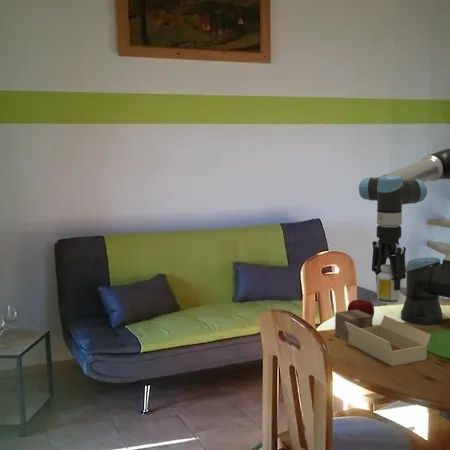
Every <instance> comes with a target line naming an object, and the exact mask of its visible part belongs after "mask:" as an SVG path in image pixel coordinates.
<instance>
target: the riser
mask: <svg viewBox="0 0 450 450" xmlns="http://www.w3.org/2000/svg"><path fill="white" fill-rule="evenodd" d="M334 313H335V315H334V317H335V321H334V323H335V324H334V335H335V336H337V337H339V338H340V339H342V340H345V341H346V342H348V335H349V331H348V329H347V327H346V324H345V321H346V322H348V323H350V324H352V325H354V326H356V327H358V328H367V327H373V324H374V323H373V319H374V316H371V315H369V314H367V313H364V312H362V311H359V310H350V311H347V310H344V311H337V312H334Z"/></svg>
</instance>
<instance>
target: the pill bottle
mask: <svg viewBox="0 0 450 450" xmlns="http://www.w3.org/2000/svg"><path fill="white" fill-rule="evenodd" d="M380 269H381V273H379V274H378V279H377V283H378V284H376V296H377V297H376V299H377V301H378V302H379V303H382V304H390V305H391V304H396V303H398V301H399V300H391V279H393V276H392V271H391V265H390V263H386V264H384V265H381V268H380ZM396 276H397V275H396Z"/></svg>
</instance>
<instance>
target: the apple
mask: <svg viewBox="0 0 450 450" xmlns="http://www.w3.org/2000/svg"><path fill="white" fill-rule="evenodd" d="M350 310H359V311H362V312H364V313H367V314H369V315H371V316H373V317H374V315H375V306H374V304H373V303H372V302H370V301H369V300H365V299H354V300H352V301H350V302H349V303H348V305H347V310H346V311H350Z"/></svg>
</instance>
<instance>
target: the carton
mask: <svg viewBox="0 0 450 450" xmlns="http://www.w3.org/2000/svg"><path fill="white" fill-rule="evenodd" d="M345 324H346V327H347V329H348V331H349V335H348V341H347V343H348V344H349V345H351V347H352V346H353V347H355V348H357V349H358V350H360V351H362V352H364V353H366V354H367V355H370V356H372V357H373V358H375V359H378V360H380V361H382V362H383V363H385V364H387V365H389V366H391V367H394V366H395V367H396V366H400V365H405V364H411V363H415V362H421V361H426V360H427V357H428V356H427V354H428V349H427V348H428V344H429V341H430V340H431V337H432V334H430V333H428V332H426V331H423V330H421V329H418V328H415V327H413V326H410V325H409V324H406V323H404V322H401V321H398V320H397V319H394V318H391V317H389V316H386V315H383V317H382V319H381V322H380V325H374V326H373V325H372V327H367V328H358V327H356V326H354V325H352V324H350V323H348V322H346V321H345ZM392 345H393V346H395V347H396V348H398V349H396V350H393V348H392Z"/></svg>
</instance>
